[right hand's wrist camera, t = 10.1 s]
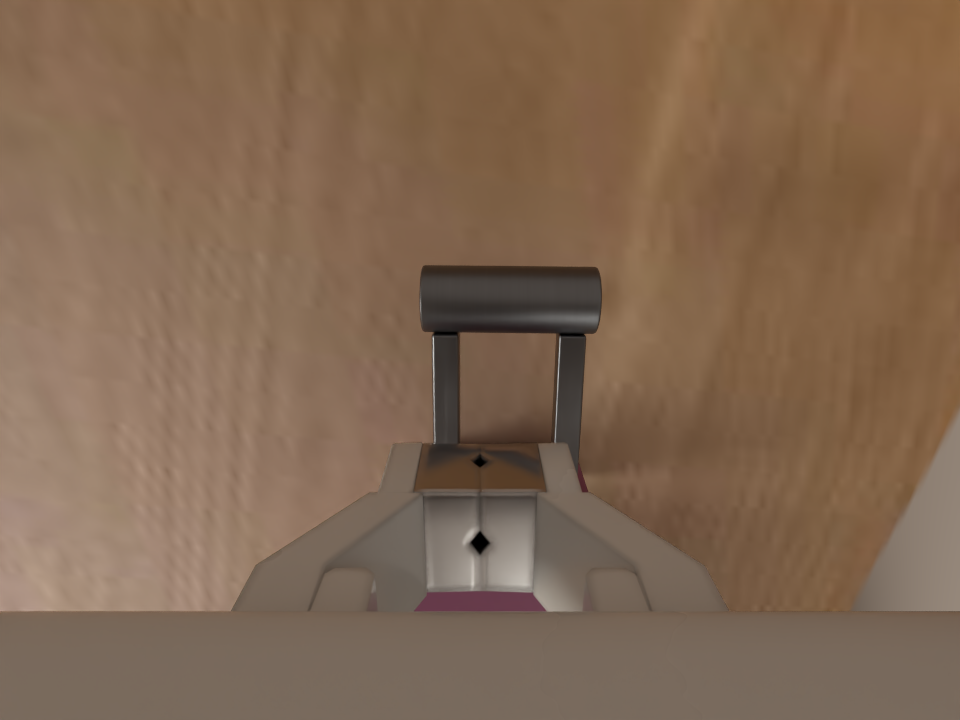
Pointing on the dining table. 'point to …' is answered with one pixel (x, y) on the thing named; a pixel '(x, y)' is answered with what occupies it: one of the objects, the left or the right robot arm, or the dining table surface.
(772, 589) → the dining table surface
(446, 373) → the drawer
